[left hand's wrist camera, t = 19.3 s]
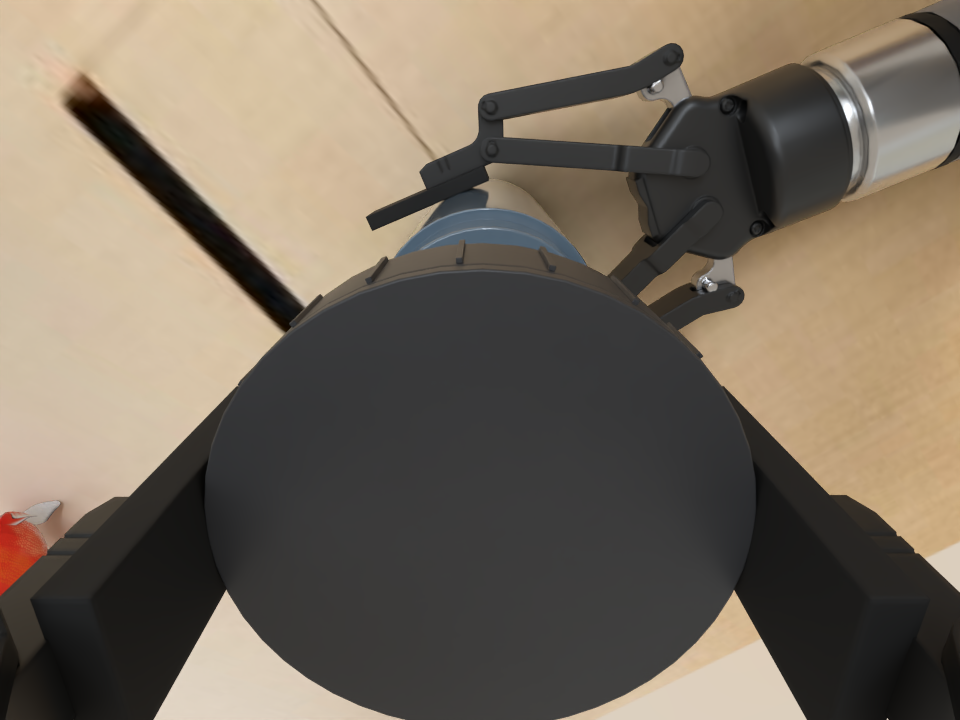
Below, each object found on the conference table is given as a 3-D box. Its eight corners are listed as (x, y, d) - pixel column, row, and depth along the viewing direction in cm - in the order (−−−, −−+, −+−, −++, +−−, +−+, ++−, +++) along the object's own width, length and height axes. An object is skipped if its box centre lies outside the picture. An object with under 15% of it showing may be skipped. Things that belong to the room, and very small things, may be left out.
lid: (776, 540, 13) (834, 619, 11) (408, 694, 15) (396, 788, 13) (588, 135, 10) (619, 135, 8) (151, 392, 12) (77, 449, 10)
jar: (395, 265, 38) (322, 370, 21) (467, 150, 36) (451, 160, 18) (503, 334, 40) (517, 483, 23) (579, 229, 37) (660, 307, 20)
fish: (22, 452, 38) (-76, 612, 32) (215, 533, 48) (168, 665, 42) (-49, 479, 43) (-146, 622, 37) (140, 547, 53) (89, 668, 47)
